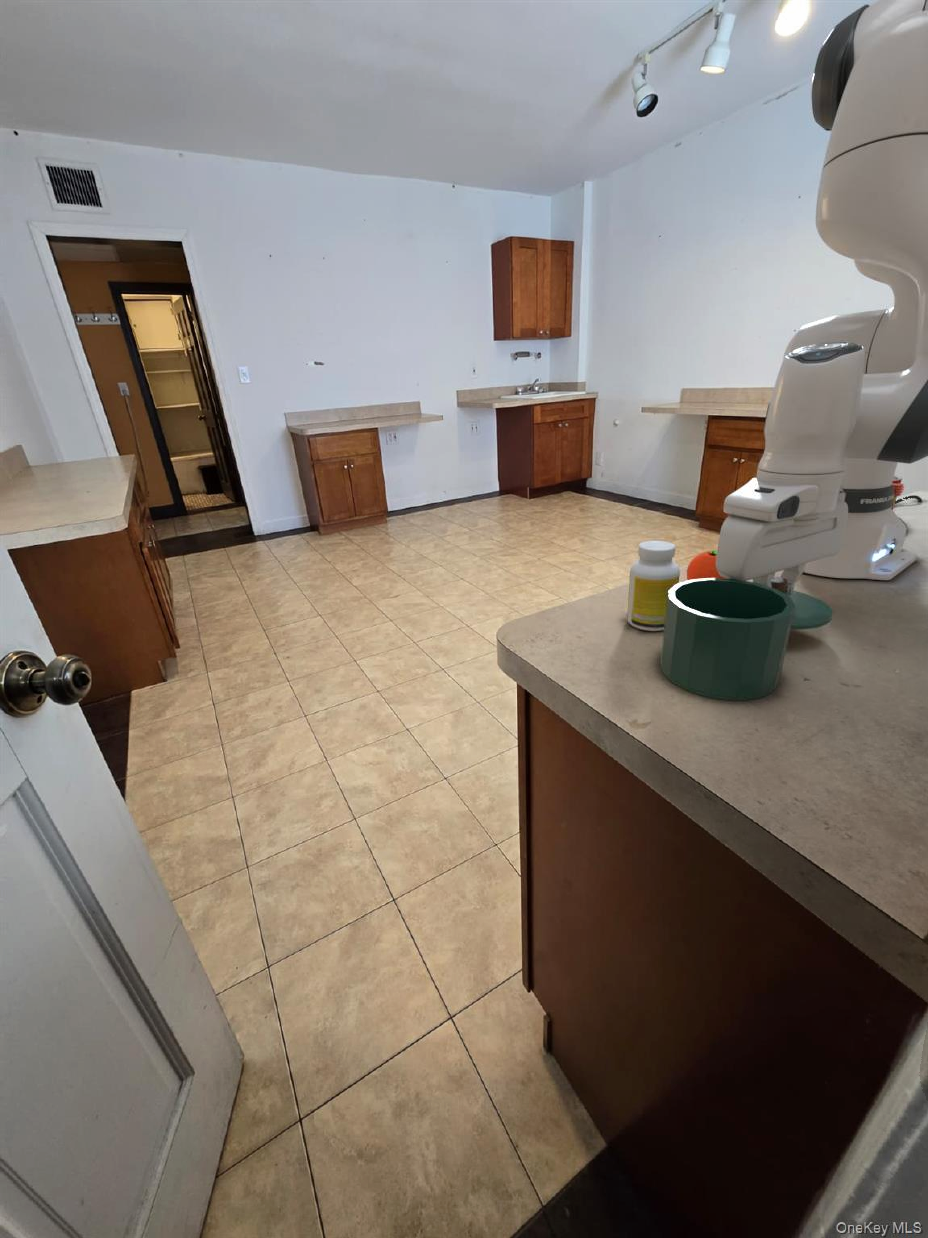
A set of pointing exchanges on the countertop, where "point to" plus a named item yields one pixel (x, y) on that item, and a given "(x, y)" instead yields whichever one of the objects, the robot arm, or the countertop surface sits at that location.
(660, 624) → the pill bottle
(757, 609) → the tin
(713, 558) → the clementine
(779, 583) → the lid
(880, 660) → the countertop surface
